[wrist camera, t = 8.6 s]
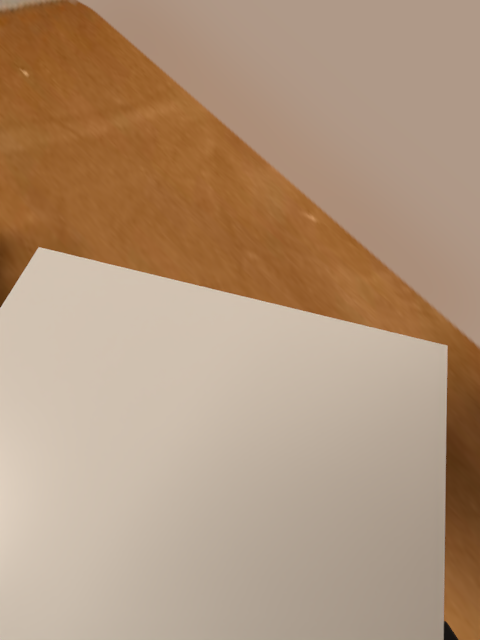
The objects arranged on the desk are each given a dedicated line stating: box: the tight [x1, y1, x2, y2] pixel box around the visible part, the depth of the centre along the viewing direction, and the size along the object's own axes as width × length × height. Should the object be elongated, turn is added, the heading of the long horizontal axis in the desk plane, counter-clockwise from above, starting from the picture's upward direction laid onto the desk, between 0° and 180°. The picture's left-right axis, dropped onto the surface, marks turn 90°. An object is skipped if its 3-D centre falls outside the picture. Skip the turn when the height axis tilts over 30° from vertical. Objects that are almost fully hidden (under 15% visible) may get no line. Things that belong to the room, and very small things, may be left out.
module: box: [0, 247, 447, 640], centre depth 8 cm, size 6×5×12 cm
